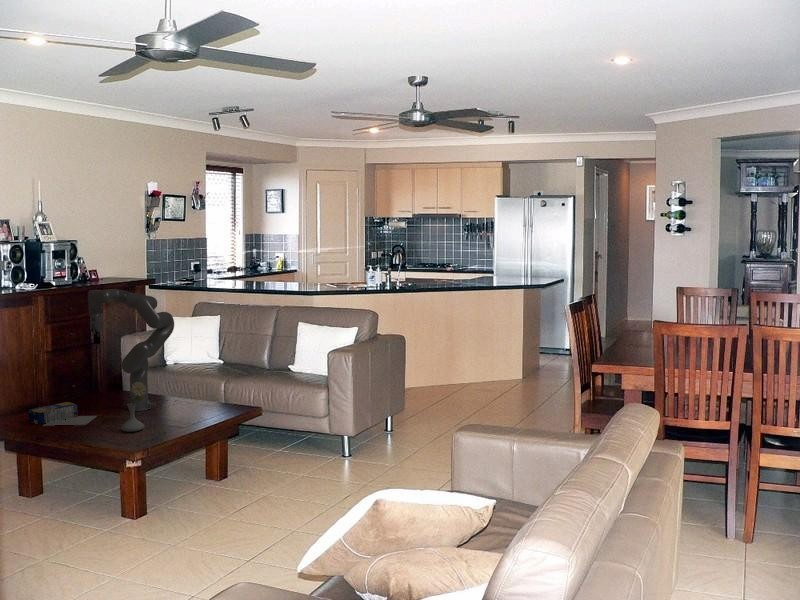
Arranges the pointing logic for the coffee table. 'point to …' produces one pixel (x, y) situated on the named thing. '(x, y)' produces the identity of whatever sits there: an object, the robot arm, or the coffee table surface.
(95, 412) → the coffee table surface
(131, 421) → the flower in vase
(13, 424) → the coffee table surface
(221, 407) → the coffee table surface
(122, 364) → the robot arm
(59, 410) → the beverage box
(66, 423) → the mat
